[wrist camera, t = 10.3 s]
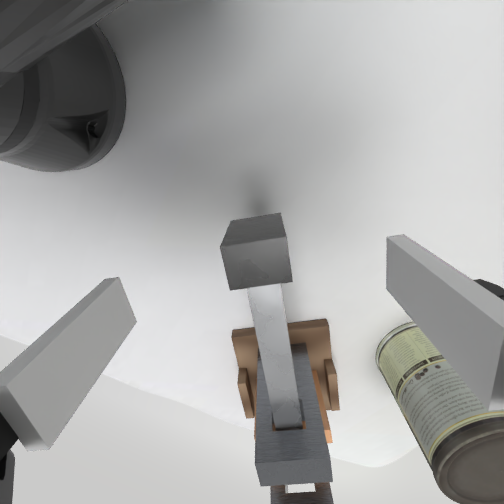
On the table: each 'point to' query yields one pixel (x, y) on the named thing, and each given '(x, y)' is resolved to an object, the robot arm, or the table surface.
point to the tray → (299, 332)
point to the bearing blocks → (293, 441)
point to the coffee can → (445, 418)
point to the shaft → (266, 304)
